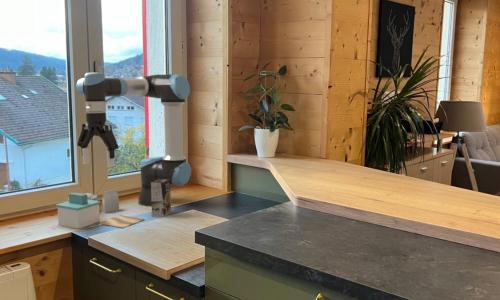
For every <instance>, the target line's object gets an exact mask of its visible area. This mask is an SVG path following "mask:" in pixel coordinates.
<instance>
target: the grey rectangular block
mask: <svg viewBox="0 0 500 300" xmlns="http://www.w3.org/2000/svg"><path fill="white" fill-rule="evenodd" d="M119 200H120V199H119V194H118V190H117V189H114V190H113V189H112V190H111V189H110V190H104V191H102V197H101V204H102V205H101V209H102V210H101V211H102V212H103V213H104V214H109V213H115V212H119V211H120V201H119Z"/></svg>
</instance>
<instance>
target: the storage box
mask: <svg viewBox="0 0 500 300" xmlns="http://www.w3.org/2000/svg"><path fill="white" fill-rule="evenodd" d="M100 219H101V218H100V204H98V205H95V206H91V207H88V208H85V209H81V210H78V211H76V210H71V209H65V208H59V207H57V222H58V226H63V227H67V228H73V229H77V230H78V229H82V228H85V227H87V226H90V225H94V224H96V223H97V224H98V223H99V222H101V220H100Z"/></svg>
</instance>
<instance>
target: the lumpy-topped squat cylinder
mask: <svg viewBox="0 0 500 300" xmlns="http://www.w3.org/2000/svg"><path fill="white" fill-rule="evenodd" d="M85 194H87V199H88V200H94V201H99V200H98V195H97V194H93V193H90V192H86V193H85ZM67 201H69V197H68V198H67Z"/></svg>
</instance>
